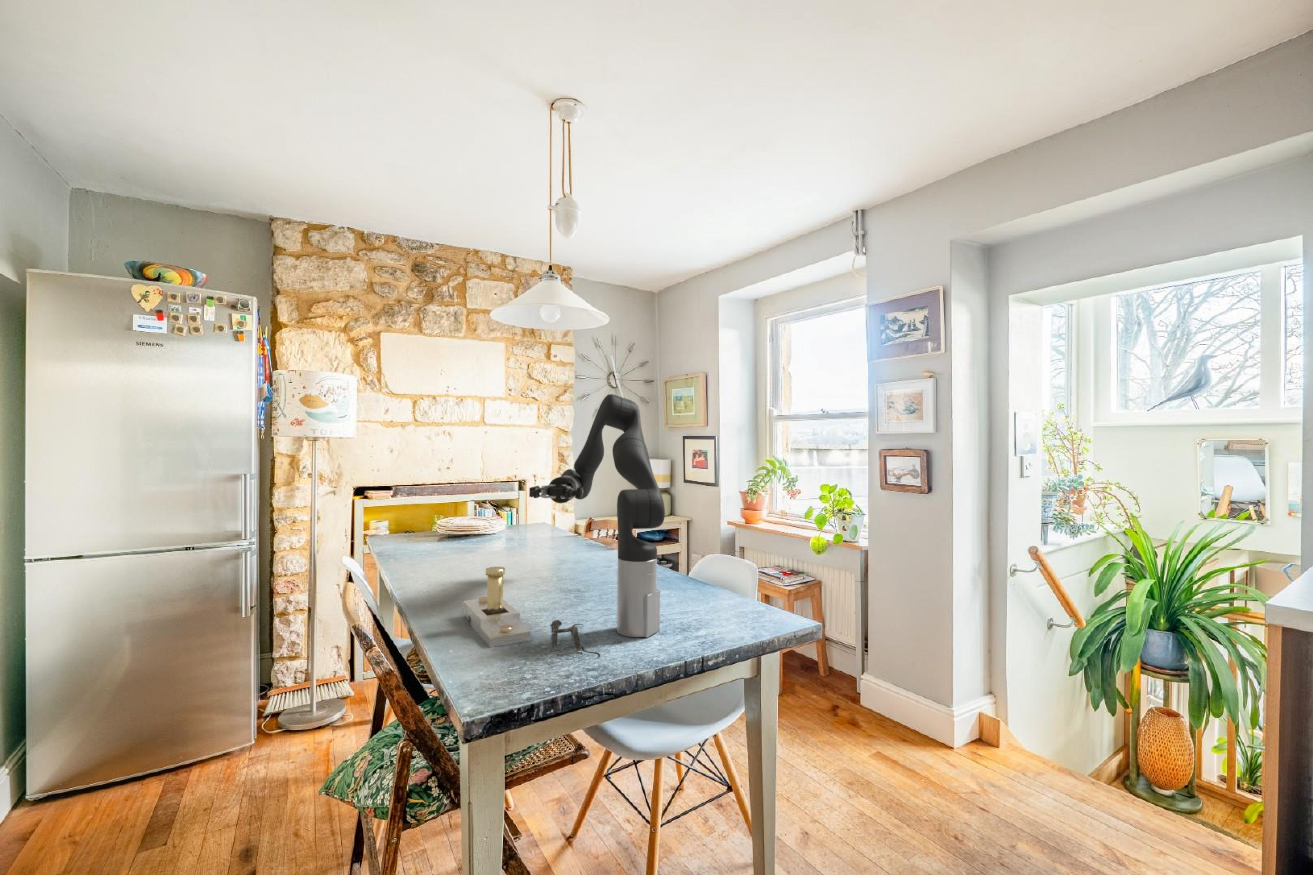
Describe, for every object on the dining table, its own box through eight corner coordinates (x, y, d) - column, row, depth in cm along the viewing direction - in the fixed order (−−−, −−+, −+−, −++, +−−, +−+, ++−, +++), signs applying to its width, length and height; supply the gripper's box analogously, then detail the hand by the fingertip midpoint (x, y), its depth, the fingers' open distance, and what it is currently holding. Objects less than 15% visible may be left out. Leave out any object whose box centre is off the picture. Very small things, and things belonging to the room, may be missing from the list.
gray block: (530, 640, 129) (530, 618, 129) (490, 647, 124) (490, 625, 124) (498, 611, 149) (499, 593, 149) (463, 616, 145) (463, 597, 145)
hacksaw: (552, 625, 141) (552, 618, 141) (594, 623, 143) (594, 617, 143) (550, 663, 117) (550, 656, 117) (601, 660, 119) (601, 653, 119)
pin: (508, 626, 138) (508, 567, 138) (495, 632, 134) (495, 571, 134) (494, 623, 140) (495, 565, 140) (481, 628, 136) (481, 569, 136)
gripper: (540, 475, 170) (524, 479, 154) (588, 476, 169) (577, 480, 153) (539, 501, 170) (524, 508, 154) (587, 502, 169) (577, 509, 153)
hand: (550, 494), depth 153 cm, fingers open, 8 cm apart
